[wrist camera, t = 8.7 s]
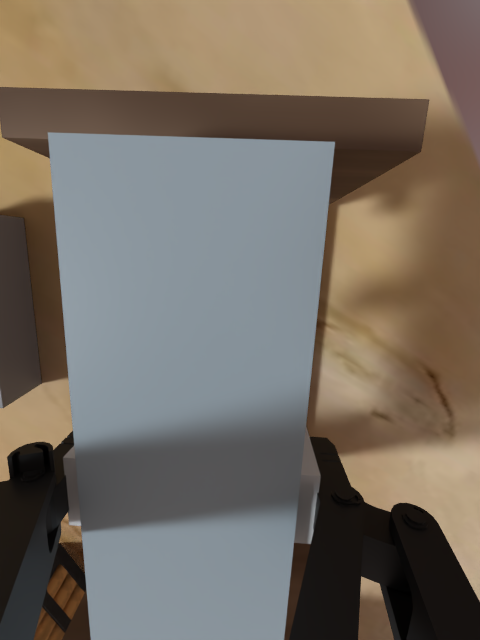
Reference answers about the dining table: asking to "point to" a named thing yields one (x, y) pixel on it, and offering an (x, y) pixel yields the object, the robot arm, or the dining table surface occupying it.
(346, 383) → the dining table surface
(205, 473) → the shelf board
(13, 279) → the grey rectangular block
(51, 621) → the ammunition clip
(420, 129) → the shelf frame
